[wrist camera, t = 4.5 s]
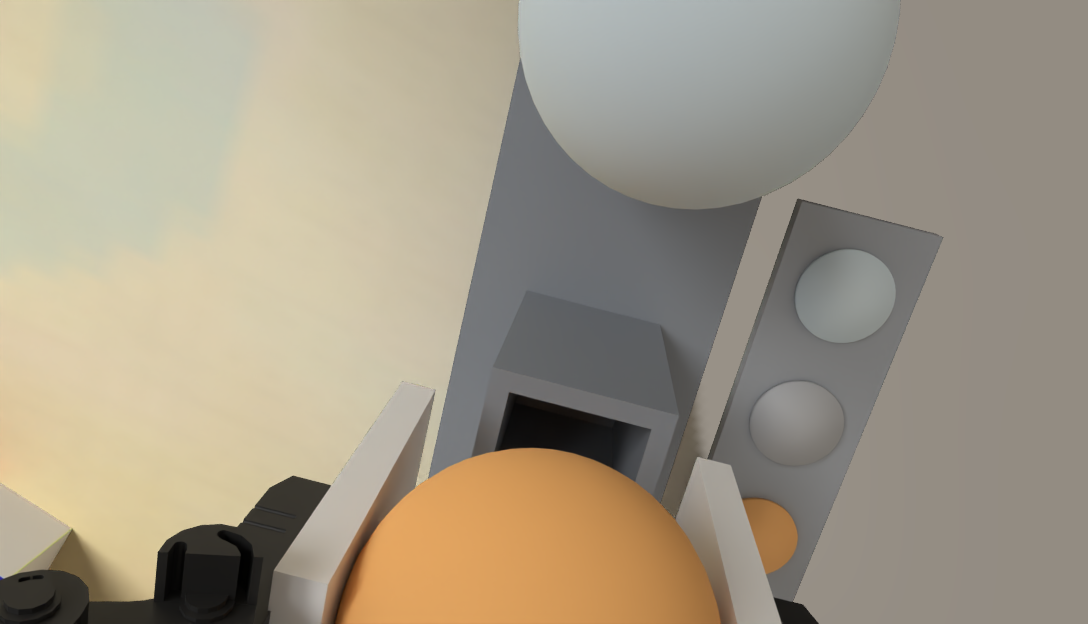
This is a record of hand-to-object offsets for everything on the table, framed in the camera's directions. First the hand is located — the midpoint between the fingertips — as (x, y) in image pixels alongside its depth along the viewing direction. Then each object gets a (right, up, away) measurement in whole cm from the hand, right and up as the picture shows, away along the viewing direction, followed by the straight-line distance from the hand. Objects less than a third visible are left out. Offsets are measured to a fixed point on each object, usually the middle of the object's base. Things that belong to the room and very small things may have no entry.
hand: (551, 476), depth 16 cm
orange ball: (0, -2, -5) cm, 5 cm away
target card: (+8, 0, +9) cm, 12 cm away
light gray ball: (+2, +8, -4) cm, 10 cm away
